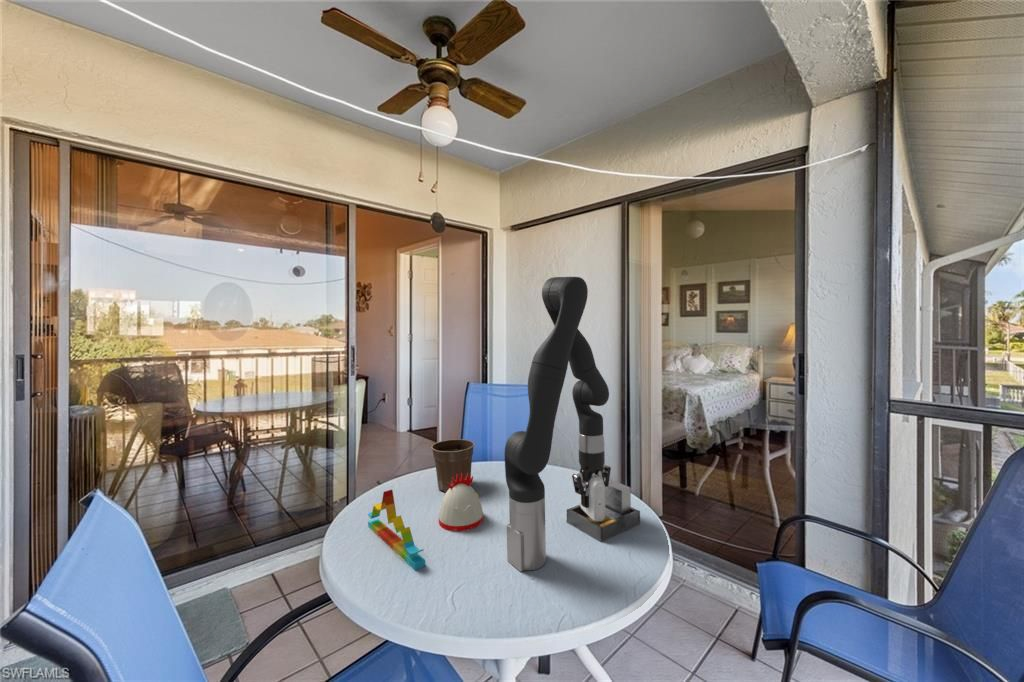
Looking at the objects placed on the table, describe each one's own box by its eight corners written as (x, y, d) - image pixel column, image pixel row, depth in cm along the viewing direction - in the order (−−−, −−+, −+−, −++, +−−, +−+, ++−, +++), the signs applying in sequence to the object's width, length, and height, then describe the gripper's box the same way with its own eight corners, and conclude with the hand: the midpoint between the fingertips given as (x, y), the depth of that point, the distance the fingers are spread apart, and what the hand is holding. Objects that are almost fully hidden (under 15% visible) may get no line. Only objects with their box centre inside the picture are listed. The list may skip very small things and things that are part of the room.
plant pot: (430, 481, 161) (429, 441, 160) (470, 476, 165) (469, 436, 165) (435, 498, 145) (433, 453, 144) (479, 492, 150) (478, 448, 149)
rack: (600, 542, 114) (600, 503, 114) (566, 522, 126) (566, 487, 126) (640, 524, 124) (639, 488, 124) (605, 507, 136) (604, 474, 135)
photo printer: (607, 520, 118) (607, 478, 117) (594, 523, 117) (593, 480, 116) (590, 505, 128) (590, 466, 127) (578, 507, 126) (577, 468, 126)
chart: (426, 566, 105) (424, 509, 105) (414, 571, 103) (412, 513, 103) (378, 523, 128) (376, 476, 128) (368, 527, 126) (366, 479, 126)
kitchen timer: (487, 527, 124) (486, 478, 124) (441, 534, 120) (440, 484, 120) (478, 507, 138) (477, 463, 137) (436, 513, 134) (435, 468, 133)
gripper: (582, 456, 114) (583, 516, 115) (617, 446, 122) (618, 502, 123) (564, 449, 120) (565, 506, 121) (599, 440, 128) (600, 493, 129)
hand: (592, 503), depth 122 cm, fingers closed on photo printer, 5 cm apart
